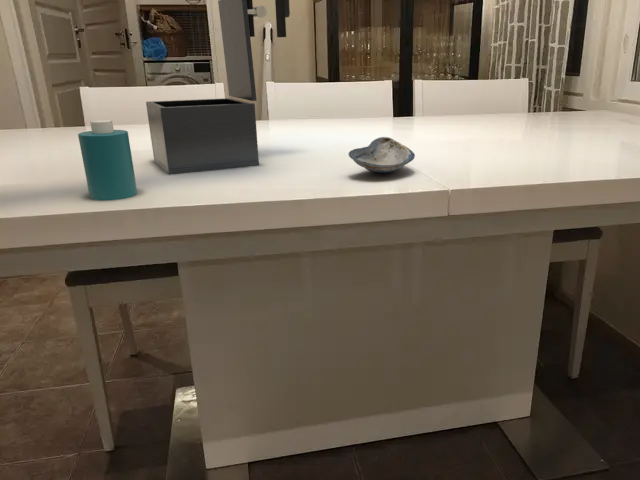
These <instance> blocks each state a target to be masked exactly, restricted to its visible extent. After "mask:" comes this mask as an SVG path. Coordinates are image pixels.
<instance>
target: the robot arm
mask: <svg viewBox="0 0 640 480" xmlns="http://www.w3.org/2000/svg"><path fill="white" fill-rule="evenodd" d="M253 2H254V1H253V0H247V9H248V10H253V7H254V3H253ZM274 2H275V3H274V5H275V25H276V38H287V23H286V21H287V20H286V18H290V15H291V11H290V0H274ZM248 19H249V29H250V38H254V37H256V35H255V33H256V32H255V19H254V18H253V14H248Z"/></svg>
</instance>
